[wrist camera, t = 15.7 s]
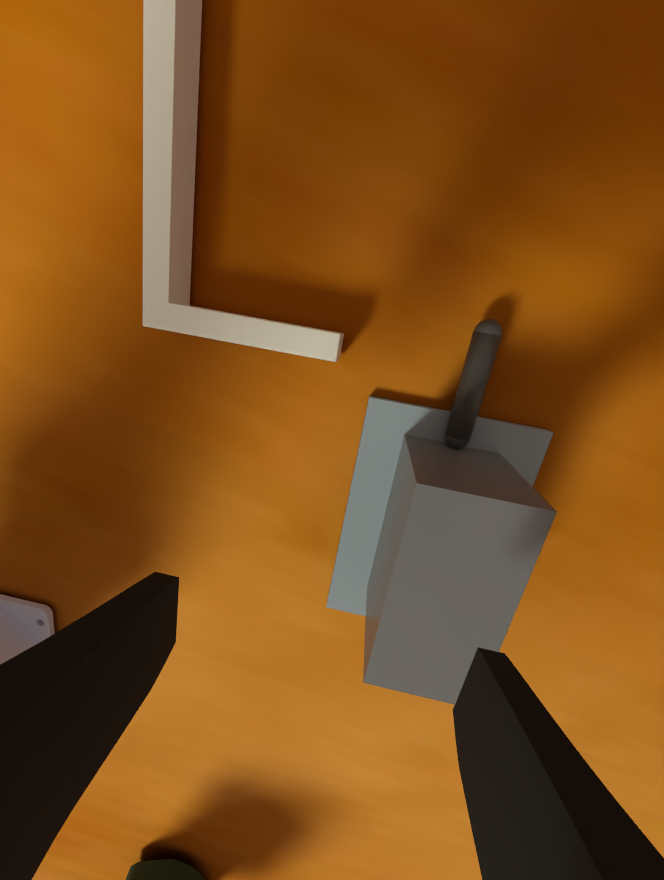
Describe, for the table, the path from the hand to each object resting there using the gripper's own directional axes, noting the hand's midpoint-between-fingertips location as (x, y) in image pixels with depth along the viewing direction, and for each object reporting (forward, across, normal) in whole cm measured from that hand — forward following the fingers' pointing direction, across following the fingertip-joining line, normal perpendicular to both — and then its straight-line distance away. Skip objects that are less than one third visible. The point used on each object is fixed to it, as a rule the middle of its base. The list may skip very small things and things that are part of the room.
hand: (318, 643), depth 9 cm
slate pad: (+9, -4, +1) cm, 10 cm away
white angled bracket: (+8, +5, -12) cm, 15 cm away
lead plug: (+8, -4, -1) cm, 9 cm away
